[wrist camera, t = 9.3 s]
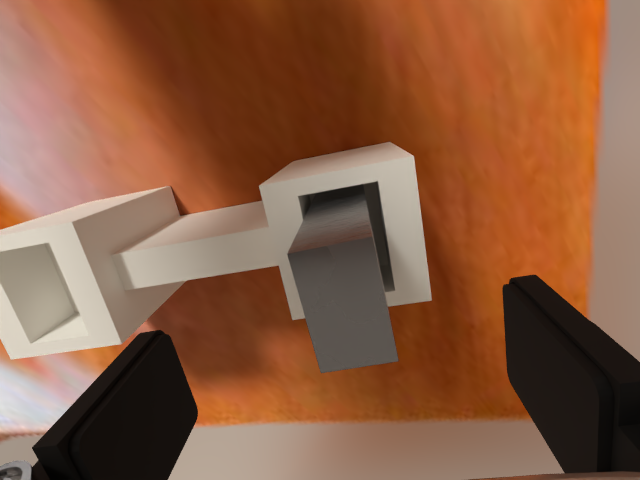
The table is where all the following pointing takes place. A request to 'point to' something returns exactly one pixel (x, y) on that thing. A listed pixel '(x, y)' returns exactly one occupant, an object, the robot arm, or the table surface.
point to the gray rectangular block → (342, 282)
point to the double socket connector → (191, 250)
